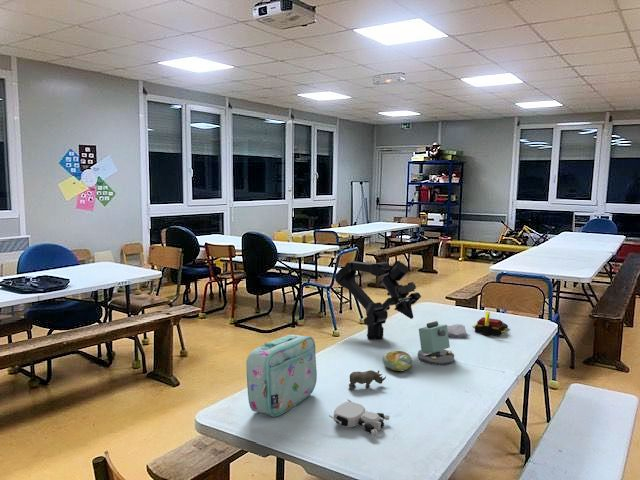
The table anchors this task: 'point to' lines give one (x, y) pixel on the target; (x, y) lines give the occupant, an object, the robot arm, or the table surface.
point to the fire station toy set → (490, 326)
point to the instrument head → (434, 337)
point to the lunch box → (281, 374)
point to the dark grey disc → (436, 357)
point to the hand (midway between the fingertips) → (412, 318)
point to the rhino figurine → (364, 378)
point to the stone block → (456, 331)
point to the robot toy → (358, 417)
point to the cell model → (397, 360)
